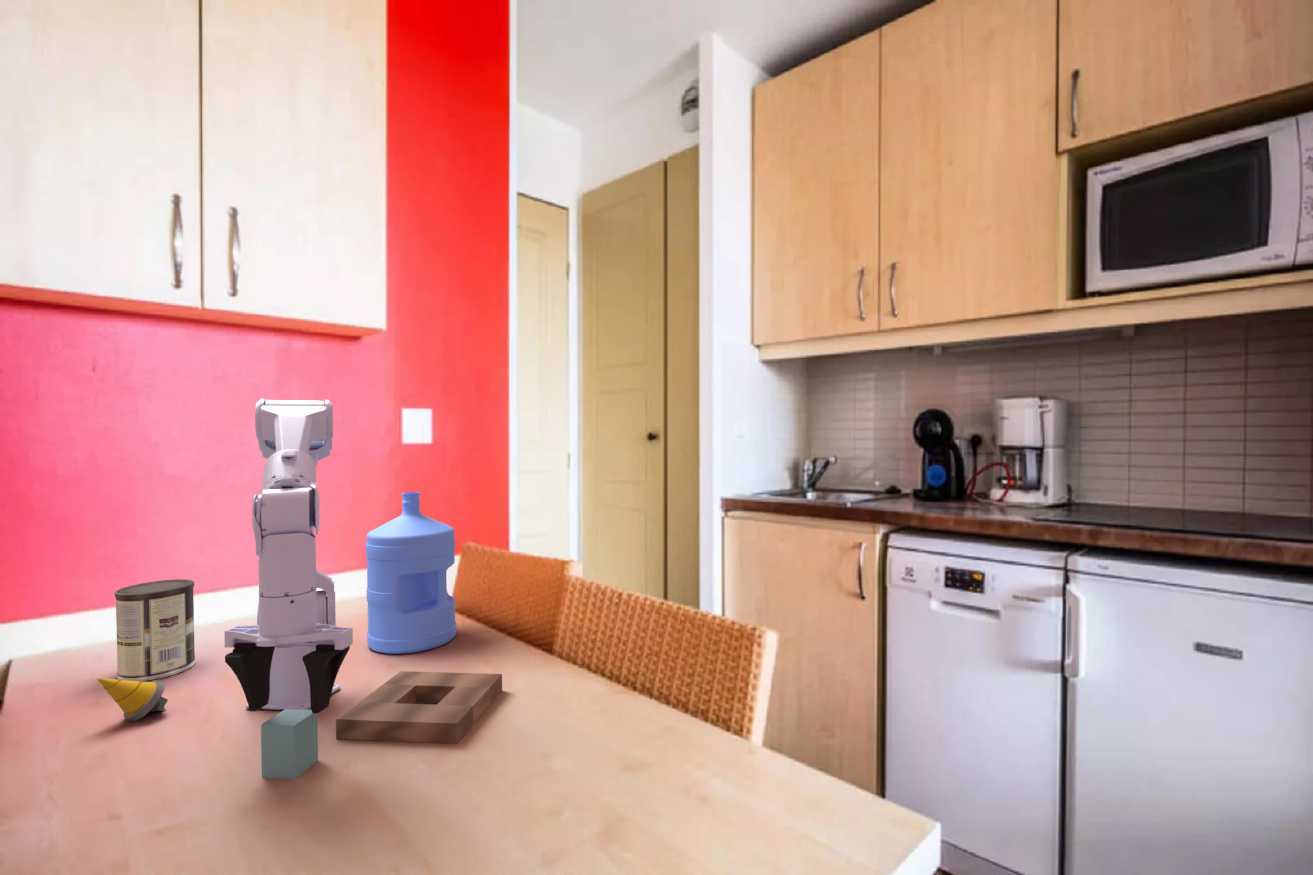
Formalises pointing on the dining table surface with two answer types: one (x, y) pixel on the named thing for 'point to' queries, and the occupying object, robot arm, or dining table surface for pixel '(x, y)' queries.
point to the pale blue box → (289, 743)
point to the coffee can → (155, 629)
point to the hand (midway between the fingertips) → (289, 708)
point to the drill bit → (136, 696)
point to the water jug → (409, 582)
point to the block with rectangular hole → (421, 707)
